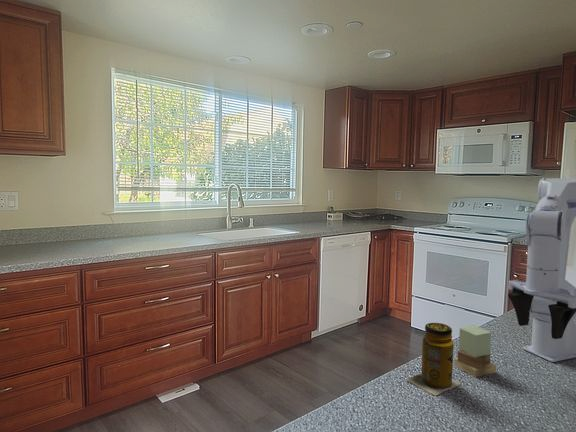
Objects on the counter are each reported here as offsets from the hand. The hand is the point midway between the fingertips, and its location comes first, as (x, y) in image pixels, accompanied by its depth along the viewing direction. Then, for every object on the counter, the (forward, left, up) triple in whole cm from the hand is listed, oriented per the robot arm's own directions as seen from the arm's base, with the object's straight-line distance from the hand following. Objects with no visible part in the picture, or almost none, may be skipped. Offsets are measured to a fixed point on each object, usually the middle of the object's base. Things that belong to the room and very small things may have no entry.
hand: (539, 331), depth 82 cm
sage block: (+9, -8, -7) cm, 14 cm away
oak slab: (+9, -8, -11) cm, 16 cm away
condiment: (+22, -6, -11) cm, 25 cm away
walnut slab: (+9, -8, -9) cm, 15 cm away
